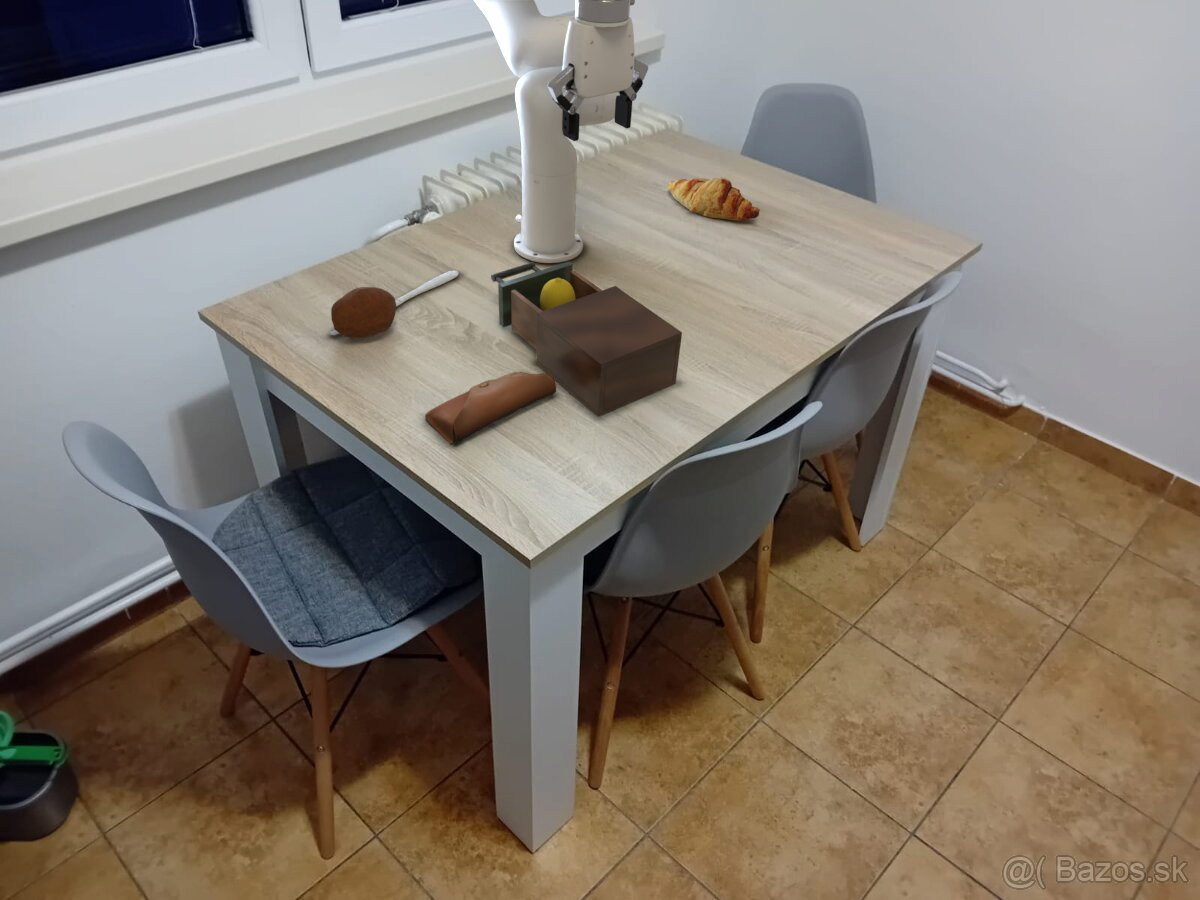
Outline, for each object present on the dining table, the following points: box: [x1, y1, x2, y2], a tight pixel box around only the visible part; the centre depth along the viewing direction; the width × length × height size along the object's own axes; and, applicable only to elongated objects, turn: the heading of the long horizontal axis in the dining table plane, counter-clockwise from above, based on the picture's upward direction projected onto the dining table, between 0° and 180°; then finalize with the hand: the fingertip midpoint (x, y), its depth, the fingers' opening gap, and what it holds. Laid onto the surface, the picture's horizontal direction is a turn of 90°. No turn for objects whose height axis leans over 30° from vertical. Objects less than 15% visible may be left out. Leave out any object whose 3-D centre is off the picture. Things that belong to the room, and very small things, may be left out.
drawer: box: [490, 260, 603, 350], centre depth 143 cm, size 21×13×7 cm, turn 37°
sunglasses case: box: [424, 371, 557, 445], centre depth 128 cm, size 18×7×7 cm
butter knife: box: [329, 269, 460, 336], centre depth 149 cm, size 1×27×3 cm
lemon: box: [540, 278, 576, 311], centre depth 141 cm, size 6×6×8 cm
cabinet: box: [536, 285, 683, 418], centre depth 134 cm, size 16×15×9 cm
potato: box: [330, 286, 397, 339], centre depth 140 cm, size 8×11×8 cm
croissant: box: [667, 177, 761, 222], centre depth 180 cm, size 21×10×8 cm
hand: (596, 131), depth 136 cm, fingers open, 9 cm apart
